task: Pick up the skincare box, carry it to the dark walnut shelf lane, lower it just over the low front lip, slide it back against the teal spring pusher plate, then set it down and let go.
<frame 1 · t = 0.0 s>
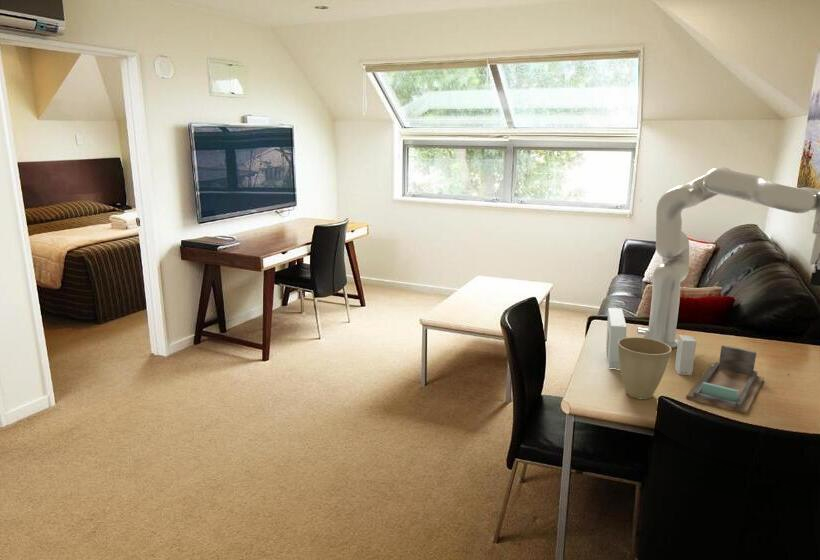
hand: (817, 282, 184), 31 cm above the table, tool pointing down, fingers open, 9 cm apart
plant pot: (638, 394, 176), on the table
pusher: (719, 392, 170), point 3 cm above the table, slide at 0.0 cm
skincare box 2: (613, 359, 203), on the table
skincare box: (683, 372, 193), on the table
lane: (726, 388, 179), on the table
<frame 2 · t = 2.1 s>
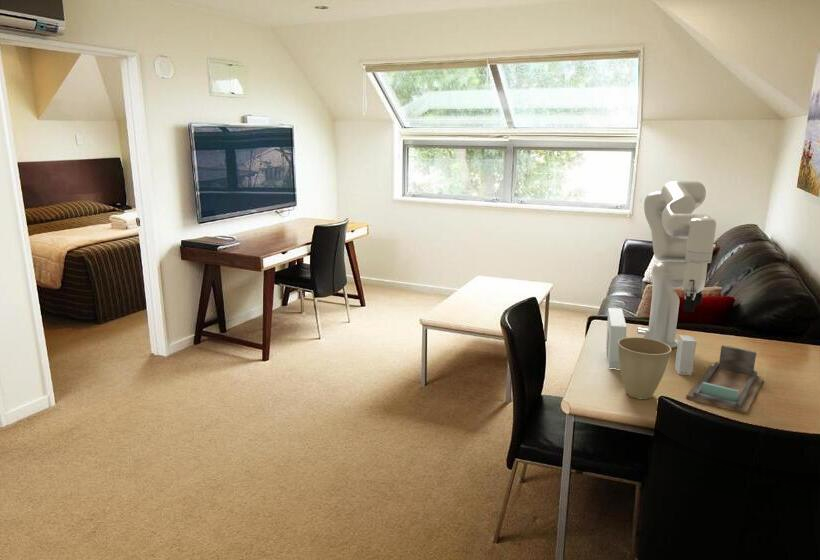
hand: (692, 308, 187), 22 cm above the table, tool pointing down, fingers open, 9 cm apart
nothing on the table moved.
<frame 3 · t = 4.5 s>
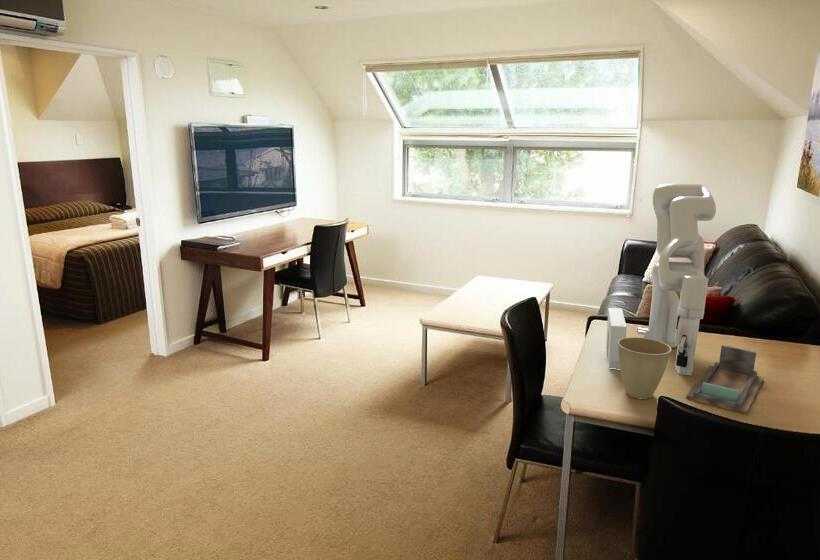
hand: (684, 362, 192), 3 cm above the table, tool pointing down, fingers closed on skincare box, 7 cm apart
skincare box: (683, 372, 192), on the table, touching gripper
everything else where it was.
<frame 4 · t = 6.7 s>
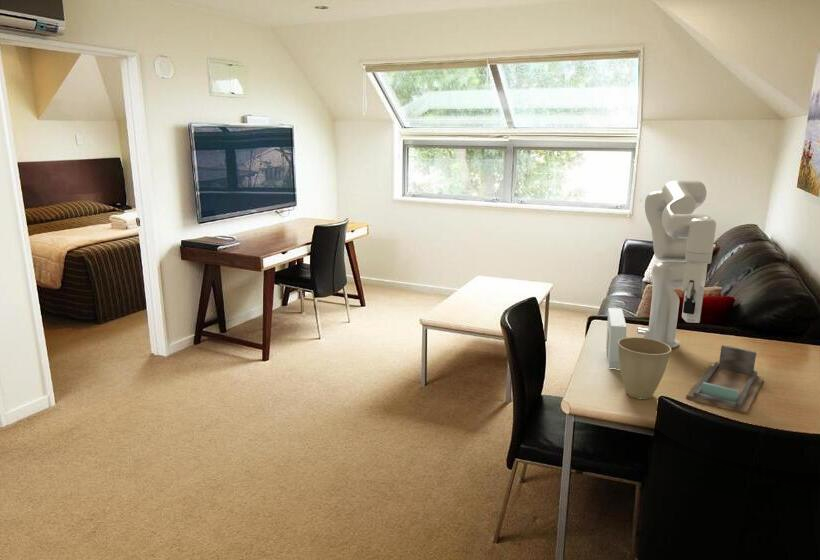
hand: (691, 310, 187), 22 cm above the table, tool pointing down, fingers closed on skincare box, 7 cm apart
skincare box: (690, 320, 188), point 18 cm above the table, touching gripper
everything else where it was.
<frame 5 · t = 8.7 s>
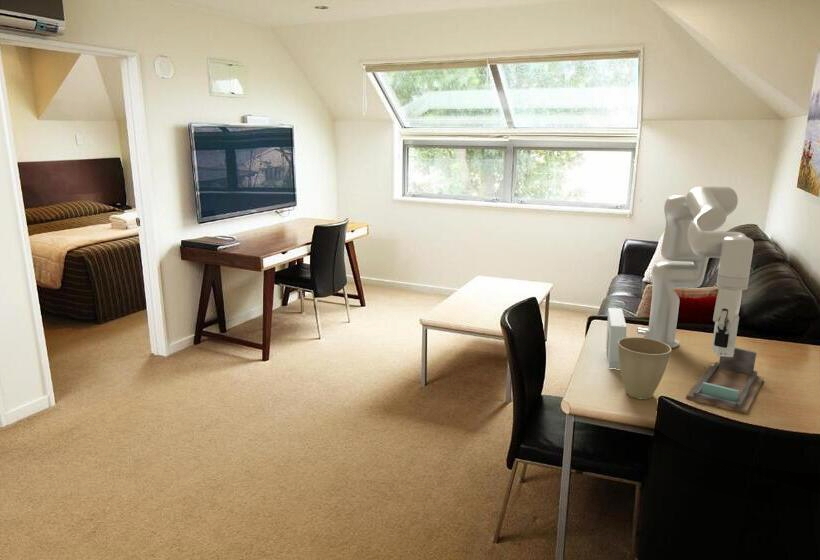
hand: (723, 342, 162), 20 cm above the table, tool pointing down, fingers closed on skincare box, 7 cm apart
skincare box: (721, 353, 162), point 17 cm above the table, touching gripper
everything else where it was.
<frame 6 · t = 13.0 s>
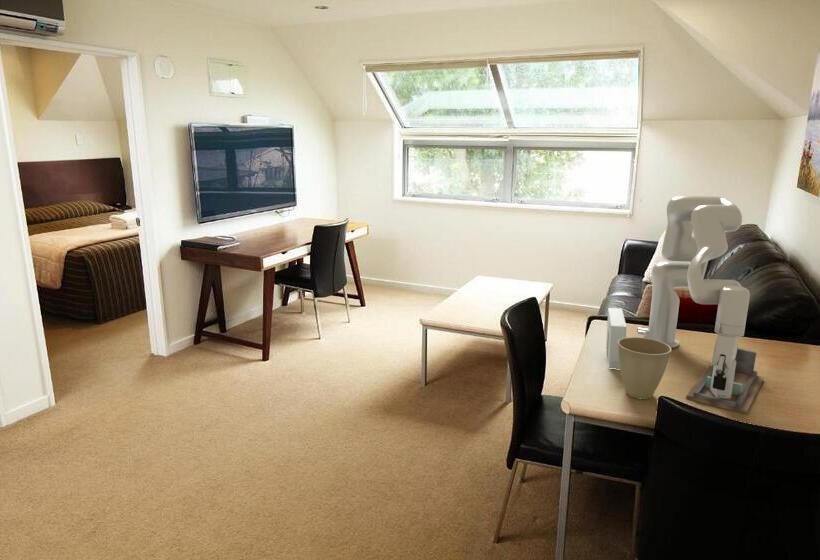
hand: (721, 384, 171), 5 cm above the table, tool pointing down, fingers closed on skincare box, 7 cm apart
pusher: (723, 385, 174), point 3 cm above the table, slide at 5.7 cm, touching gripper, skincare box
skincare box: (720, 395, 172), point 1 cm above the table, touching gripper, pusher
everything else where it was.
when the fingers open (5 cm above the table, at t = 13.3 s): skincare box stays where it is, resting on lane, pusher.
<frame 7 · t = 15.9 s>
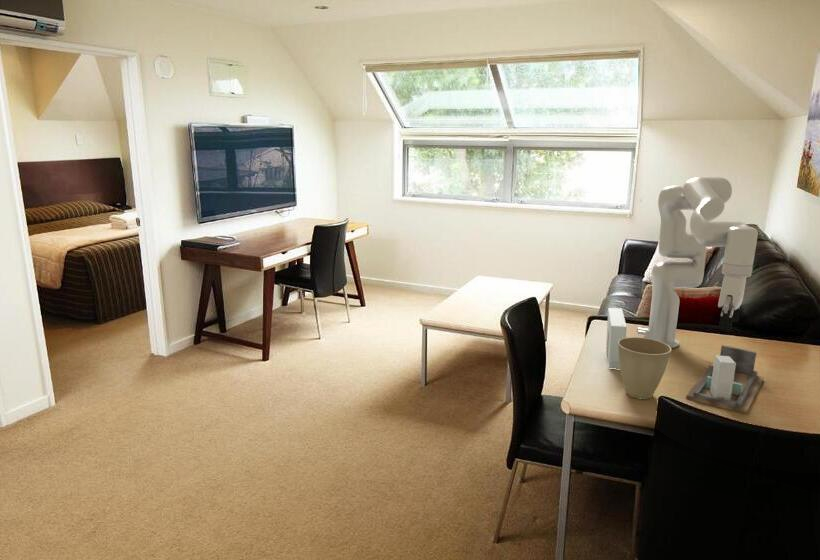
hand: (728, 325, 170), 22 cm above the table, tool pointing down, fingers open, 9 cm apart
pusher: (723, 385, 174), point 3 cm above the table, slide at 5.7 cm, touching skincare box
skincare box: (719, 397, 172), point 1 cm above the table, touching lane, pusher
everything else where it was.
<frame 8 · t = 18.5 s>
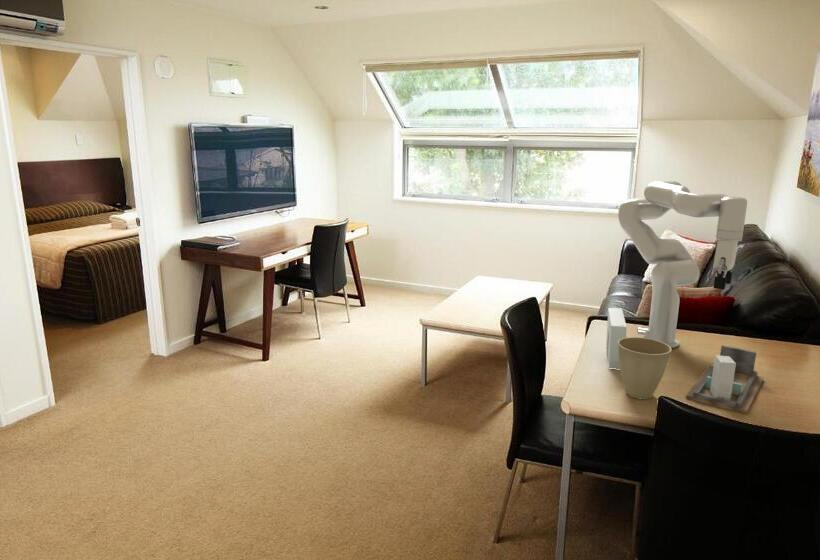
hand: (722, 285, 191), 28 cm above the table, tool pointing down, fingers open, 9 cm apart
nothing on the table moved.
at the end: skincare box inside the target area (0.2 cm from its centre), point 0.8 cm above the table; skincare box tilted 0°; pusher slide at 5.7 cm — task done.
